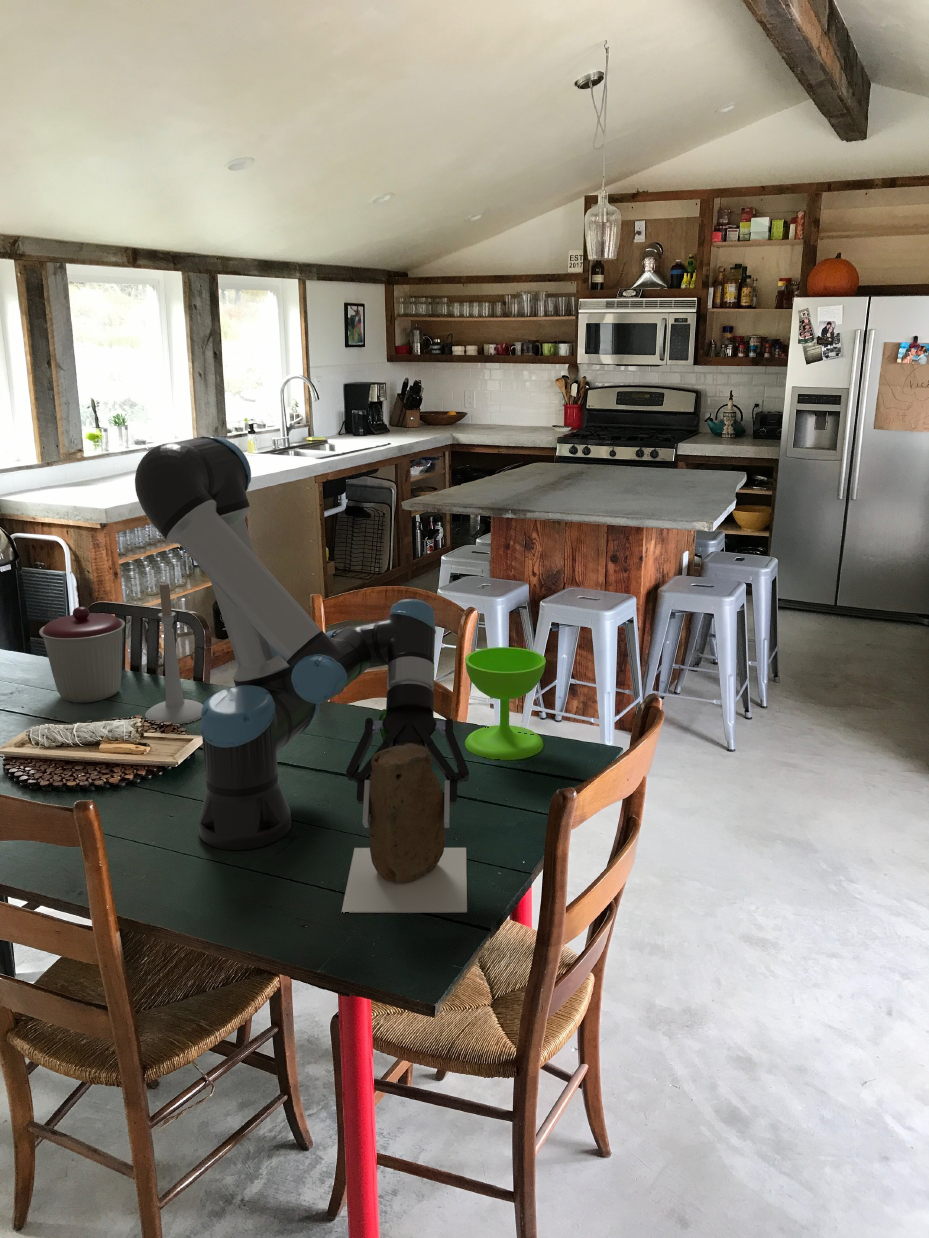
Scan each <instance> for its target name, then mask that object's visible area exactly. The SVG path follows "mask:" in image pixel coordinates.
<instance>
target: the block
mask: <svg viewBox="0 0 929 1238" xmlns="http://www.w3.org/2000/svg"><path fill="white" fill-rule="evenodd" d="M374 753H375V752H374ZM374 753H373V754H372V756H373V757H372V756H371V757H372V760H371V765H372V770H373V772H372V774H371V777H370V779H369V780H370V799H369V807H370V818H369V827H368V835H369V848H370V853H371V860H372V863H373V865H374V867H375V869H376V871H377V872H378V873H379V874H380V875H381V876H382V877H383V878H384V879H386V880H391V881H395V882H409V881H412V880H416V879H418V878H420V877H422V876H423V875H424V874H425V873H429V872H430V871H432V870H434V869H435V867H436V865H437V864H438V862H439V860H440V858H441V856H442V855H443V852H444V848H445V843H446V828H444V797H445V792H444V790H443V789H442V788H441V785H440V783H439V779H438V776H437V775H436V774H435V773H434V772H433V770H432V763H433V759H432V758H431V755H430V753H429V752H428V749H427V748H425V747H423V746H420V745H417V744H414V743H408V744H405V745H403V746H393V747H391V748H388V749H384V750H382V751H379V752H377V753H375V754H374Z"/></svg>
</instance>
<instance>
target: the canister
mask: <svg viewBox="0 0 929 1238" xmlns="http://www.w3.org/2000/svg"><path fill="white" fill-rule="evenodd" d="M125 626H126V622H125V621H124V620H123V619H121V618H118V617H116V616H115V615H112V614H107V613H100V612H98V613H96V612H92V613H91V612H90V610H89V608H87V607H85V606H78V607H75V608H74V609H73V611H72V614H70V615H65V616H61V617H58V618H56V619H53V620H50V621H49V622H48V623H47V624H45V625H44V626H42V627H41V628H40V629H39V631H38V634H39V636H41V637H42V638H43V642H44V645H45V646H44V647H45V650H46V654H47V658H48V661H49V666H50V670H51V674H52V678H53V680H54V684H55V687H56V690H57V693H58V694H59V696H60V697H61V698H63V700H65V701H67V702H71V703H81V704H82V703H83V704H84V703H92V702H94V703H95V702H99V701H102V700H105V699H108V698H110V697H113V696H115V695H116V694H117V692H118V691H119V689H120V688H121V684H122V683H121V682H122V675H123V674H122V673H123V671H122V670H123V630H124V628H125Z"/></svg>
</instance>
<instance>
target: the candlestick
mask: <svg viewBox="0 0 929 1238" xmlns="http://www.w3.org/2000/svg"><path fill="white" fill-rule="evenodd" d="M158 586H159V595H160V604H161V605H160V607H161V612H160V613H158V614H157V616H158V617H159V618H160V623H161V624H162V625H163V644H164V645H163V647H164V674H165V675H164V676H165V678H164V679H165V680H164V681H165V700H164V701H162V702H159V703H157V704H155V705H153V706H152V707H150V708H148V710H147V711H146V712H145V714H144V718H145V717H146V718H148V719H150V720H159V721H167V722H171V723H181V724H182V723H188V724H191V723H193V722H192V721H194V722H197V721H199V720H201V719H200V718H201V711H202V707H203V705H204V704H202V703H201V702H199V701H197V700H192V699H186V698H185V699H184V697H183V694H184V693H183V689H182V683H181V677H180V676H181V675H180V668H179V662H178V654H177V649H176V647H177V646H176V642H175V633H174V632H175V630H174V629H173V623H174V622H175V619H174V617H175V615H176V612H175V611H172V601H171V590H170V589H171V588H170V583H169V582H165V581H163V582H160V583H159V585H158ZM198 719H199V720H198ZM196 720H197V721H196ZM190 722H191V723H190Z"/></svg>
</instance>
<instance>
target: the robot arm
mask: <svg viewBox="0 0 929 1238" xmlns="http://www.w3.org/2000/svg"><path fill="white" fill-rule="evenodd" d="M251 481H252V471H251V466H250V463H249V461H248V459H247V456H246V455H245V453H244V452H243V450H242V449H240V448H239V447H238V446H237V444H236V443H234V442H232V441H230V440H228V439H226V438H223V437H221V436H205V435H204V436H203V435H202V436H198V437H194V438H190V439H184V440H181V441H175V442H167V443H163V444H159V445H157V446H155V447H153V448H152V449H150V450H148V451H147V452H146V453H145V455H144V456H142V457H141V459H140V461H139V463H138V465H137V468H136V470H135V477H134V486H135V487H134V488H135V489H134V490H135V493H136V497H137V500H138V502H139V504H140V507H141V508H142V510H143V513H144V514H145V516H146V517H147V518H148V520H149V521H150V523H151V524H152V525H153V527H154V528H155V529H156V530H157V532H159V534H160V535H162V537H163V538H164V539H165V540H166V541H167V542H168V543H170V544H177V545H179V546H181V548H182V549H183V550H184V551H185V552H186V554H187V555H188V556H189V557H190V558H191V559H192V560H193V561H194V562H195V564H197V566H198V567H199V568H200V569H201V570H202V571H203V572H204V573H205V574H206V576H208V578H209V580H210V585H211V587H212V590H213V592H214V596H215V600H216V602H217V605H218V609H219V612H220V614H221V618H222V620H223V621H222V622H223V624H224V626H225V629H226V633H227V636H228V639H229V641H230V645H231V648H232V650H233V651H232V652H233V654H234V657H235V658H234V659H235V660H236V663H237V667H236V669H235V672H234V673H233V676H232V679H233V683H234V686H231V687H230V688H228V689H225V688H224V689H221V690H219V691H218V692H215V693H214V694H212V695H211V696H209V698H208V699H206V700H205V702H204V704H202V705H203V707H202V711H201V719H200V720H201V721H200V734H201V739H202V750H203V759H204V771H205V783H206V784H205V785H206V792H205V795H204V799H203V803H202V805H201V811H200V814H199V816H198V817H199V818H198V830H199V831H198V832H199V837H200V839H201V840H202V842H204V844H207V845H209V846H210V847H213V848H216V849H222V850H228V851H244V850H253V849H256V848H257V849H258V848H260V847H261V848H262V847H264V846H267V845H271V844H273V843H275V842H277V841H279V840H281V838H283V837H285V836H286V835H287V834H288V832H290V829H291V827H292V816H291V808H290V805H289V803H288V801H287V799H286V796H285V794H284V792H283V789H282V787H281V785H280V783H279V773H278V772H279V771H278V770H279V768H278V752H280V751H281V749H283V748H284V747H285V746H286V745H288V744H289V743H290V742H291V741H292V740H293V739H294V738H296V737H297V736H299V734H302V733H304V732H305V730H306V729H307V728H308V727H309V726H310V725H311V723H312V722H313V721H314V719H315V718H316V716H317V715H318V713H319V710H320V707H321V706H320V705H321V704H324V703H326V702H328V701H330V700H331V699H333V698H334V697H336V696H337V695H340V694H342V693H343V691H344V690H345V688H346V687H348V686H349V685H350V684H351V683H352V682H354V681H355V680H356V679H358V678H359V676H362V674H363V673H365V671H368V670H369V669H373V668H377V667H383V666H387V677H386V678H387V679H386V688H387V691H386V701H385V702H386V703H385V704H386V705H385V709H386V716H385V718H384V720H383V721H379V720H374V719H373V718H371V717H367V718H366V719H365V720H364V732H363V734H362V736H361V738H360V740H359V742H358V745H357V747H356V748H355V750H354V752H353V755H352V757H351V759H350V762H349V764H348V766H347V767H346V770H345V774H346V779H347V780H348V781H350V782H351V781H353V782H355V783H356V785H357V786H356V802H357V804H358V805H363V808H362V825H363V826H362V827H364V828H369V822H370V819H371V816H370V807H369V799H370V780H371V774H372V772H373V770H372V765H371V760H372V757H373V755H374V754H375V753H377V752H379V751H382V750H384V749H388V748H391V747H393V746H403V745H405V744H408V743H414V744H417V745H420V746H423V747H425V748H427V749H428V752H429V753H430V755H431V758H432V761H433V762H434V764H436V766H437V767H438V769H439V771H440V772H441V773H442V774H443V776H444V777H445V778H446V780H445V779H444V828H445V829H449V828H450V805H451V806H452V805H453V806H454V805H455V806H456V805H457V803H458V785H459V784H460V783H463V782H468V781H469V778H470V771H469V768H468V765H467V763H466V760H465V758H464V756H463V753H462V751H461V748H460V744H459V743H458V739H457V738H456V735H455V734H454V721H453V719H452V718H450V717H448V718H445V720H436V719H435V716H434V712H435V710H434V708H435V706H434V705H435V703H434V701H435V694H434V692H433V691H434V690H435V647H436V646H435V644H436V643H435V641H436V637H435V636H436V633H437V629H436V622H435V621H436V619H435V610H434V609H433V607H432V606H431V605H430V604H429V603H428V602H425V601H423V600H420V599H416V598H415V599H414V598H407V599H401V600H398V601H397V602H396V603H393V604H392V605H391V608H390V611H389V614H388V618H384V619H380V620H377V621H372V622H368V623H367V622H366V623H362V624H357V625H356V624H355V625H350V626H341V627H339V628H336V629H333V630H329V631H327V632H326V633H325V631H323V630H322V629H321V627H320V626H318V624H317V623H316V622H315V621H314V620H313V618H311V617H310V616H311V615H309V614H308V613H307V612H306V611H305V609H303V607H302V606H301V605H300V604H299V603H298V601H296V599H294V597H293V596H292V595H291V594H290V593H289V592H288V590H287V589H286V588H285V587H284V586H283V585H282V584H281V583H280V581H279V580H278V579H276V577H275V576H274V575H273V573H271V572H270V570H269V569H268V568H267V567H266V566H265V565H264V564H263V562H262V561H261V560H260V559H259V558H258V557H257V555H256V551H255V548H254V545H253V541H252V539H251V535H250V532H249V529H248V527H247V526H248V525H247V523H246V517H247V516H248V514H249V511H250V510H251V505H250V502H249V499H248V495H247V493H246V492H247V491H248V490H249V487H250V484H251ZM380 729H383V730H384V731H385V732H386V734H387V736H386V738H385V739H384V741H383V740H382V743H381V744H380V745H379V747H378V748H377V749H376V750H375V752H374V753H373V755H372V756H371V757H370V758H369V760H368V761H367V762H366V763H365V764H364V766H363V767H362V764H363V762H364V759H365V757H366V755H367V753H368V750H370V749H369V748H370V746H371V744H372V742H373V738H374V736H375V735H378V733H379V732H380ZM436 730H439V732H440V734H441V735H442V736H445V741H446V744H447V746H448V748H449V752H450V754H451V756H452V759H453V761H454V764H455V767H456V769H457V772H456V771H455V770H454V768H453V767H452V766H451V765H450V763H449V762H448V760H447V759H446V757H445V756H444V754H443V753H442V752H441V750H440V749H439V748H438V746H437V745H436V744H435V742H434V739H433V738H432V737H431V736H432V735H433V733H434V732H435V731H436ZM361 767H362V769H361V770H360V768H361Z"/></svg>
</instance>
